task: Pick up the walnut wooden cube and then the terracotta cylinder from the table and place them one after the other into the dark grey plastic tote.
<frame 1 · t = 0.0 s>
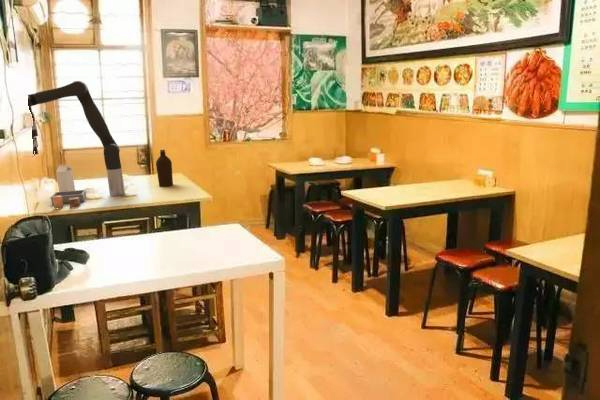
hand: (34, 155, 304), 29 cm above the table, fingers open, 8 cm apart
olive oil: (166, 185, 344), on the table
terracotta cylinder: (58, 207, 293), on the table
tote: (70, 201, 309), on the table
milk carton: (67, 192, 334), on the table
walnut cube: (75, 206, 295), on the table
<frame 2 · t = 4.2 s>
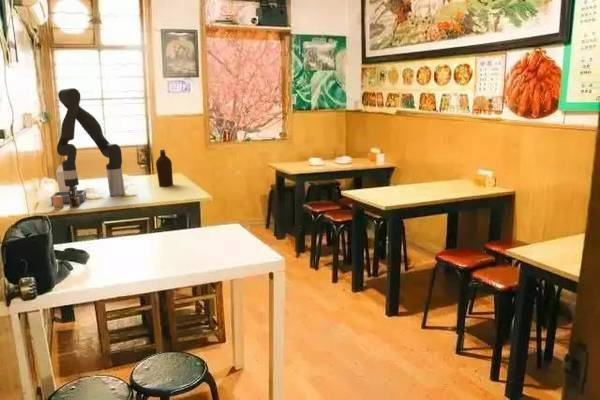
hand: (75, 205, 295), 1 cm above the table, fingers closed on walnut cube, 5 cm apart
walnut cube: (75, 206, 295), on the table, touching gripper
everything else where it was.
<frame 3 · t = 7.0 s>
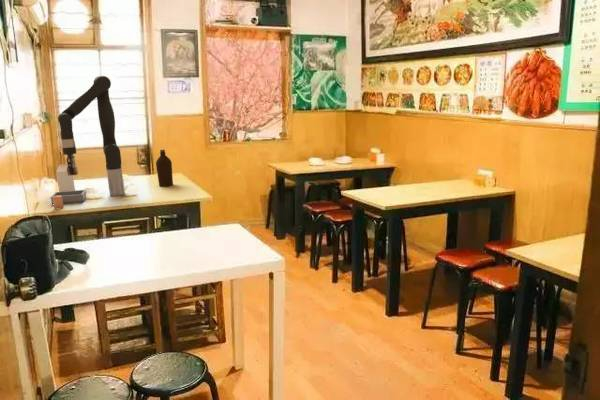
hand: (73, 173, 305), 17 cm above the table, fingers closed on walnut cube, 5 cm apart
walnut cube: (73, 174, 305), point 17 cm above the table, touching gripper
everything else where it was.
when the fingers open (3 cm above the table, at t = 10.1 s): walnut cube drops 1 cm, resting on tote.
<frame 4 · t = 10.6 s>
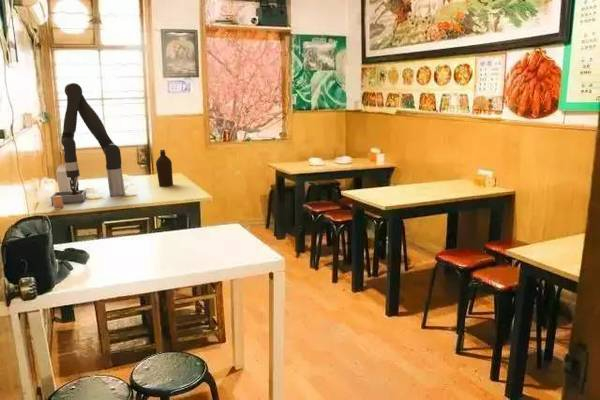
hand: (76, 194, 309), 4 cm above the table, fingers open, 8 cm apart
walnut cube: (76, 198, 309), point 1 cm above the table, touching tote
everything else where it was.
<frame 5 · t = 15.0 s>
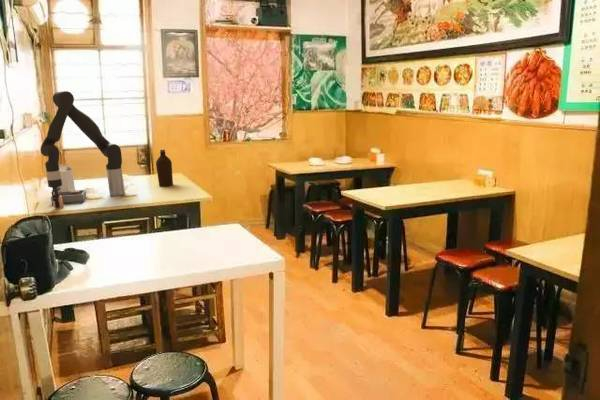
hand: (58, 206, 293), 1 cm above the table, fingers closed on terracotta cylinder, 5 cm apart
terracotta cylinder: (59, 207, 293), on the table, touching gripper
everything else where it was.
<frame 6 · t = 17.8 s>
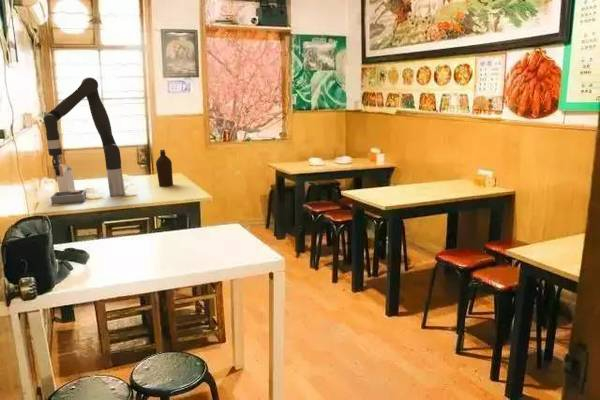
hand: (59, 174, 303), 17 cm above the table, fingers closed on terracotta cylinder, 5 cm apart
terracotta cylinder: (59, 176, 303), point 16 cm above the table, touching gripper
everything else where it was.
when the fingers open (3 cm above the table, at t = 20.9 s): terracotta cylinder drops 1 cm, resting on tote.
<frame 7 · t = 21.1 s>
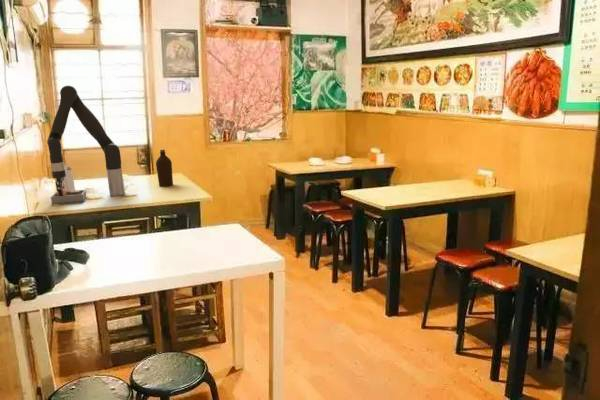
hand: (62, 195, 307), 4 cm above the table, fingers open, 7 cm apart
terracotta cylinder: (62, 200, 307), point 1 cm above the table, touching tote
everything else where it was.
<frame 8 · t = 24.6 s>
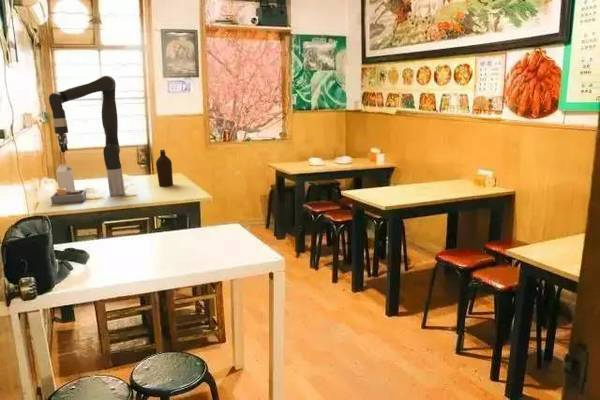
hand: (64, 151, 310), 30 cm above the table, fingers open, 8 cm apart
nothing on the table moved.
at the end: walnut cube inside the target area on the tote (3.9 cm from its centre), point 1.0 cm above the tote's base; terracotta cylinder inside the target area on the tote (4.0 cm from its centre), point 1.1 cm above the tote's base; terracotta cylinder tilted 2° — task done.
